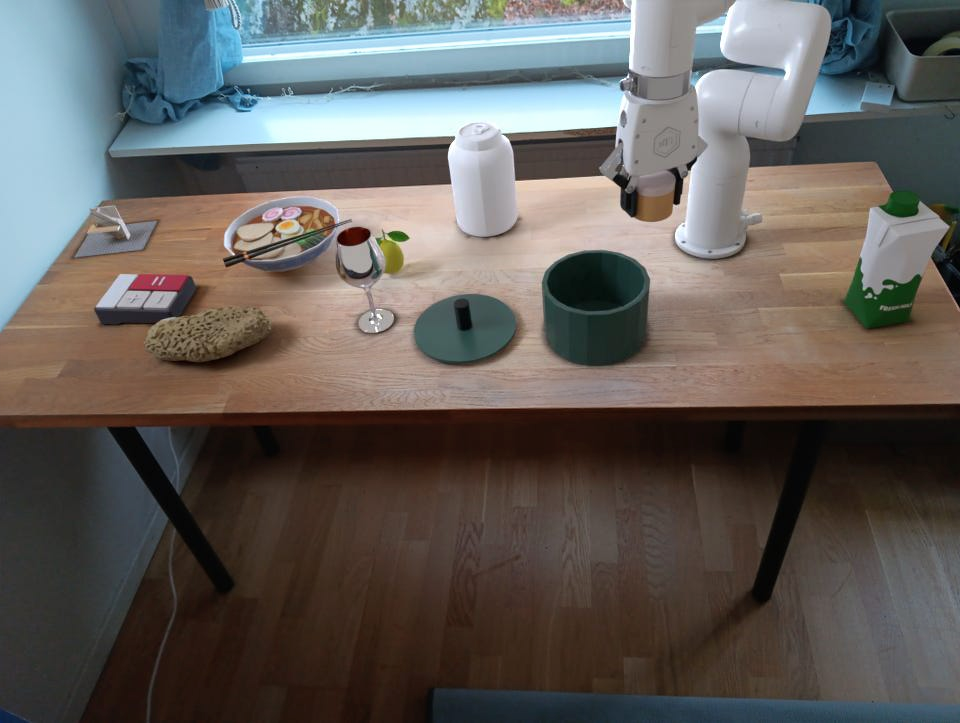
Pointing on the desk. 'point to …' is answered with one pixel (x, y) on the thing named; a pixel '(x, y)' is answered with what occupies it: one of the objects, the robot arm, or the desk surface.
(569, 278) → the pot
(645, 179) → the cake
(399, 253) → the lemon
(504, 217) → the can
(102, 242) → the architectural model
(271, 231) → the ramen bowl
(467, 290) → the desk surface
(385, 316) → the wineglass
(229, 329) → the sponge
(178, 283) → the calculator
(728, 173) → the robot arm
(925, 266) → the milk carton
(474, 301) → the lid
